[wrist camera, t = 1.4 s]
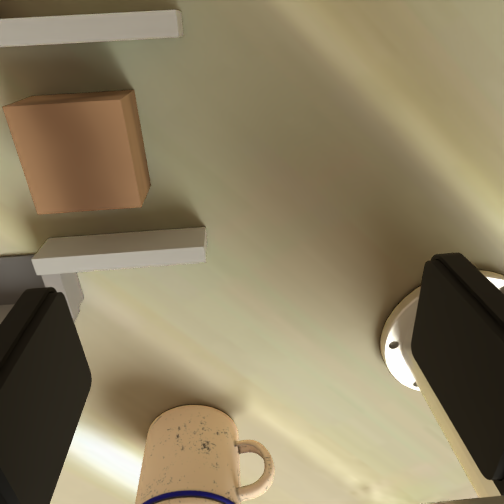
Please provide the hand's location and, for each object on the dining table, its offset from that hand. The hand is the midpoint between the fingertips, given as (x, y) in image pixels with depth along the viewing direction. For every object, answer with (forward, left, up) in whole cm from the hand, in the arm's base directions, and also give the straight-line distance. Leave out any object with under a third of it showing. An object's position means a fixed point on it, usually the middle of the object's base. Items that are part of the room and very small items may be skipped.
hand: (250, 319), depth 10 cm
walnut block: (+9, 0, -19) cm, 21 cm away
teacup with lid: (+4, +27, -19) cm, 33 cm away
